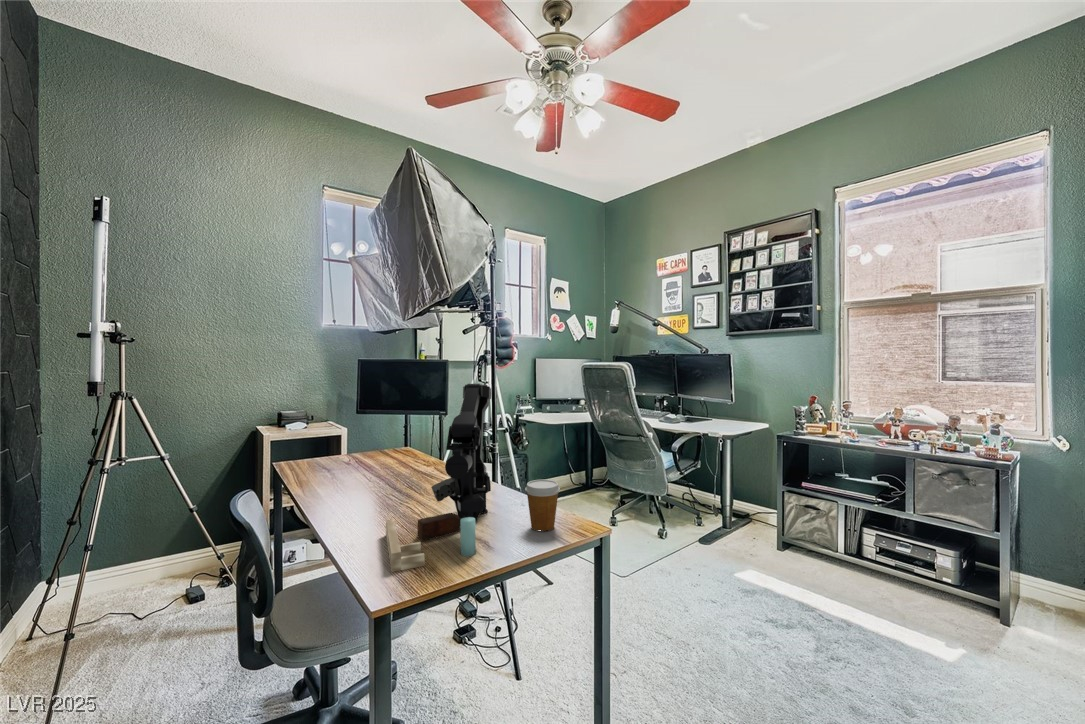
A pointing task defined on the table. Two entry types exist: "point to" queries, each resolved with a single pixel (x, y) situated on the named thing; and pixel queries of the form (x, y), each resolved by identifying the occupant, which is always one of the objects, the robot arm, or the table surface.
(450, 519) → the brick
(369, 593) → the table surface
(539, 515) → the disposable coffee cup
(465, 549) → the dowel
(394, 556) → the backstop fence
